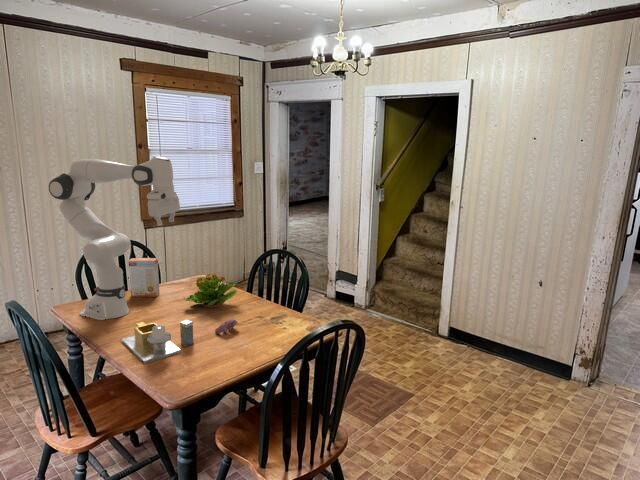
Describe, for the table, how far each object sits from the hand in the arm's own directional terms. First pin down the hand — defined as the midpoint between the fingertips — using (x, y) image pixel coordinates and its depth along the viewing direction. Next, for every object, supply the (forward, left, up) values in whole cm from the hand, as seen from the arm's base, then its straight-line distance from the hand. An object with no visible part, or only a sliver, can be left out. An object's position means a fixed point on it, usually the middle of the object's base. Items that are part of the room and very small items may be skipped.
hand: (166, 223), depth 196 cm
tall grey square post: (+20, -20, -48) cm, 55 cm away
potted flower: (+11, +25, -48) cm, 55 cm away
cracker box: (-32, +27, -48) cm, 63 cm away
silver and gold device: (+7, -27, -47) cm, 55 cm away
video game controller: (+30, -4, -48) cm, 57 cm away
